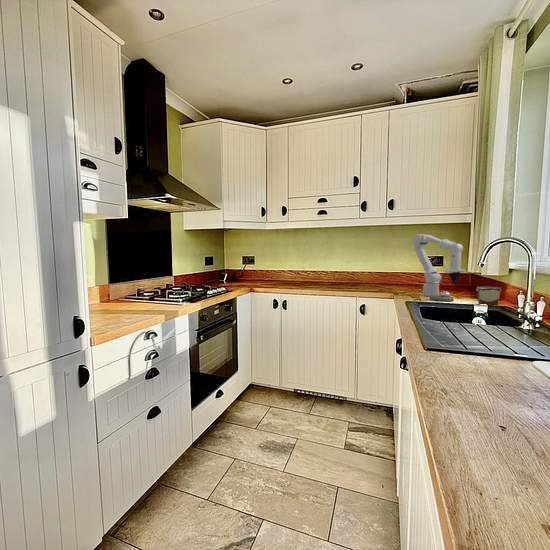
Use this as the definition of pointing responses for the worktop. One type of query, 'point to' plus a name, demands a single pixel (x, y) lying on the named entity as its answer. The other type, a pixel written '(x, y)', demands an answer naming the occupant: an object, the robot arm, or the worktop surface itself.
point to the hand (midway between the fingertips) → (454, 284)
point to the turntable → (441, 298)
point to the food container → (488, 295)
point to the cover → (445, 294)
